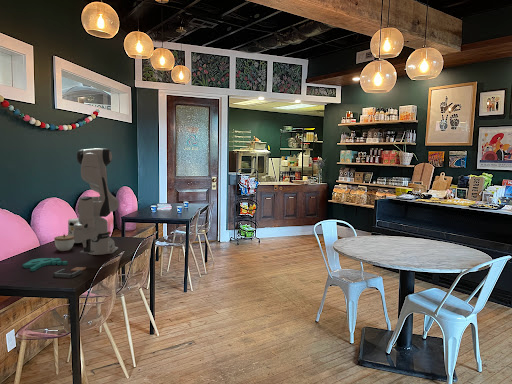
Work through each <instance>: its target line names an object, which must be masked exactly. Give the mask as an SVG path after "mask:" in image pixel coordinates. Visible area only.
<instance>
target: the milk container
mask: <svg viewBox="0 0 512 384" xmlns="http://www.w3.org/2000/svg"><path fill="white" fill-rule="evenodd" d="M78 218H79V217H78ZM78 218H71V219H68V221H67V229H68V230H67V231H68V233H67V235H70V236H74V228H73V226H74V224H76V223H77V222H78ZM79 244H80V245H81V244H82V245H83V243H82V241H81V242H75V240H74V245H79Z"/></svg>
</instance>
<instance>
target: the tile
mask: <svg viewBox="0 0 512 384" xmlns="http://www.w3.org/2000/svg"><path fill="white" fill-rule="evenodd" d="M86 269H87V267H86V266H85V267H83V266H82V267H81V266H75V267H74V268H72V269H70V272H76V271H78V270H82V272H83V271H84V270H86Z"/></svg>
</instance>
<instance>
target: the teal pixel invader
mask: <svg viewBox="0 0 512 384" xmlns="http://www.w3.org/2000/svg"><path fill="white" fill-rule="evenodd" d="M56 264H57V266H60V265H61V266H67V265H69V264H68V261H67V260H64V261H62V259H61V258H59V257H55V258H54V257H50V258H49V257H46V258H45V257H41V258H40V257H39V258H35V259H33V258H32V259H30V260H28V261H27V262H25V263H22V268H24V269H29V270H30V272H36V271H37V270H39V269H40V268H42V267H46V265H47V266H51V265H52V266H55V265H56Z"/></svg>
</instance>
